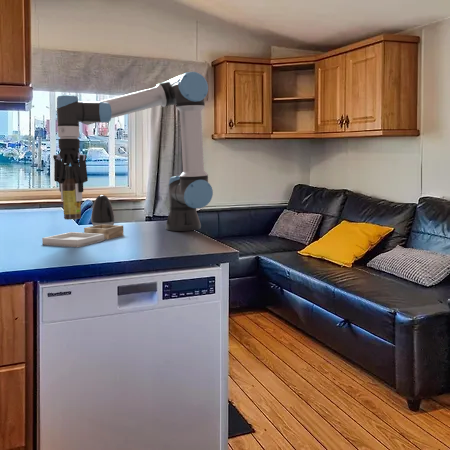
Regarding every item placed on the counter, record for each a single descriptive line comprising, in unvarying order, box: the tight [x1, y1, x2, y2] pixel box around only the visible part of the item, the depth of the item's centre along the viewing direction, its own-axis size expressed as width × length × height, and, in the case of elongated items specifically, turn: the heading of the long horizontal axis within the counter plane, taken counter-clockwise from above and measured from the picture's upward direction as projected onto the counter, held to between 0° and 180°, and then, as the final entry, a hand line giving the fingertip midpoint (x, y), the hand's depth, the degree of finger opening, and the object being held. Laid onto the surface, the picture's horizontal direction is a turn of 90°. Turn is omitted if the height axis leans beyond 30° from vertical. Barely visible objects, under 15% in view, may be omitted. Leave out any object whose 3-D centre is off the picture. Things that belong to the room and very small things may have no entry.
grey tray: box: [41, 231, 105, 248], centre depth 202 cm, size 16×16×2 cm
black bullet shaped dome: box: [90, 194, 116, 226], centre depth 236 cm, size 10×10×15 cm
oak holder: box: [83, 224, 125, 240], centre depth 216 cm, size 11×11×4 cm
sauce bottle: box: [62, 165, 82, 221], centre depth 200 cm, size 6×6×20 cm
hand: (71, 200), depth 200 cm, fingers closed on sauce bottle, 6 cm apart
